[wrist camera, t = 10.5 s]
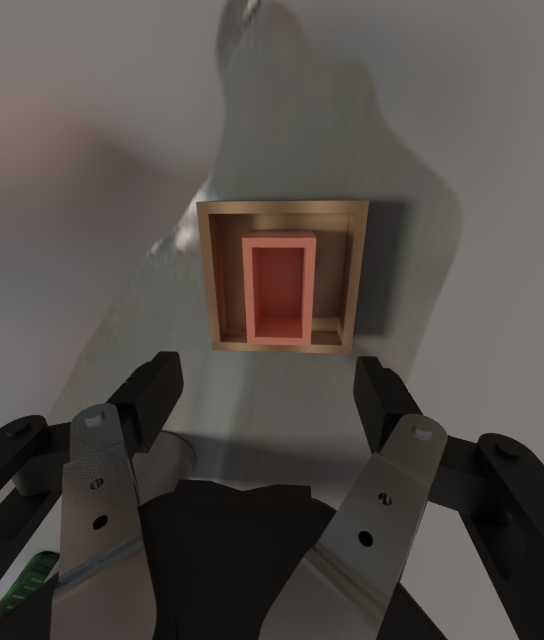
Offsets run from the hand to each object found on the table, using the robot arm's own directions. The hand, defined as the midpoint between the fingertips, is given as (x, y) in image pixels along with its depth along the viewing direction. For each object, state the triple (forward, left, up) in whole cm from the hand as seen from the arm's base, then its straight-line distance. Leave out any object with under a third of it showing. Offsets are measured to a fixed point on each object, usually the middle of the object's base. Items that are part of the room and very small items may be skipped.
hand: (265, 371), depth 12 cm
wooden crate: (0, 0, -18) cm, 18 cm away
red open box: (0, 0, -17) cm, 17 cm away
